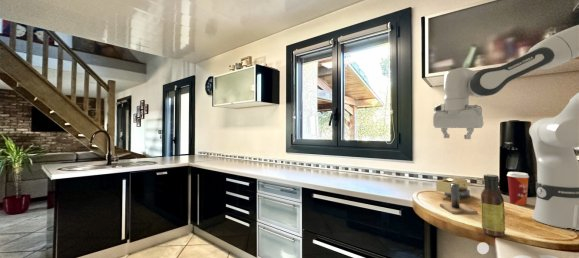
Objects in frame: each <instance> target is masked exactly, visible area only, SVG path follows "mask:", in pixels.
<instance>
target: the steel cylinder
mask: <svg viewBox="0 0 579 258" xmlns="http://www.w3.org/2000/svg"><path fill="white" fill-rule="evenodd" d="M450 199H451V200H450V201H451V202H450V204H451V207H453V208H460V204H461V203H460V198H459V184H454V183H452V184H451V197H450Z"/></svg>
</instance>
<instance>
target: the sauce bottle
mask: <svg viewBox="0 0 579 258" xmlns="http://www.w3.org/2000/svg"><path fill="white" fill-rule="evenodd" d="M483 180H484V186H483V187H484V188H483V190H482V191H481V193H480V211H481V212H480V216H481V230H482V232H483V233H484V234H486V235H488V236H491V237H492V236H493V237H504V236H505V233H506V221H505V220H506V216H505V199H504V197H503V195H502V192H501V190H500V187H499V180H500V177H499V175H496V174H489V173H488V174H483Z"/></svg>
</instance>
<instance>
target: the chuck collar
mask: <svg viewBox="0 0 579 258" xmlns="http://www.w3.org/2000/svg"><path fill="white" fill-rule="evenodd" d="M435 183H436V184H435V185H436V187H435V188H436V190H435V191H437V192H440V193H441V192H442V193H444V192H445V193H449V194H451V184H452V183H454V184H459V191H467V189H468V179H466V178H462V177H446V179H445V178H444V179H439V180H435Z"/></svg>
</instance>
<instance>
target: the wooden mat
mask: <svg viewBox="0 0 579 258" xmlns="http://www.w3.org/2000/svg"><path fill="white" fill-rule="evenodd" d="M439 207H440V208H442V209H444V210H445V211H447V212H449V213H450V214H453V215H457V214H458V215H460V214H462V215H463V214H465V215H466V214H471V215H472V214H477V215H478V211H477V210H476V209H474V208H473V207H470V206H468V205H466V204H464V203H460V208H453V207H451V203H439Z"/></svg>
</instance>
